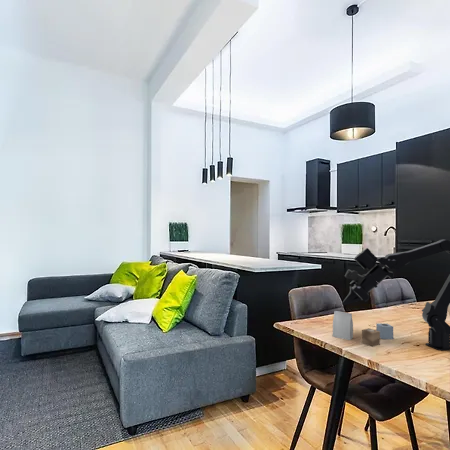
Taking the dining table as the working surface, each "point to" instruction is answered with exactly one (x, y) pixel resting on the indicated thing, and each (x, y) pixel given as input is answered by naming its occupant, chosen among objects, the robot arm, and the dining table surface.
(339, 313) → the grey tapered block
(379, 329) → the slate block
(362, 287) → the robot arm
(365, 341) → the walnut block
